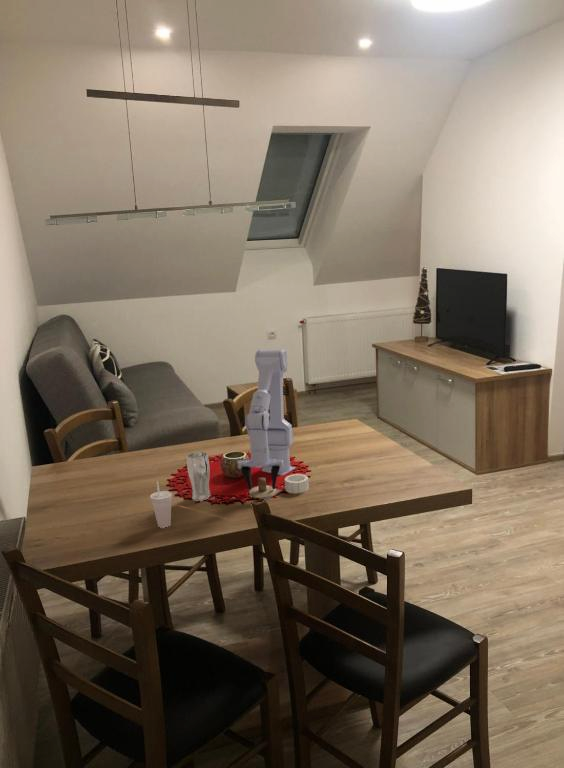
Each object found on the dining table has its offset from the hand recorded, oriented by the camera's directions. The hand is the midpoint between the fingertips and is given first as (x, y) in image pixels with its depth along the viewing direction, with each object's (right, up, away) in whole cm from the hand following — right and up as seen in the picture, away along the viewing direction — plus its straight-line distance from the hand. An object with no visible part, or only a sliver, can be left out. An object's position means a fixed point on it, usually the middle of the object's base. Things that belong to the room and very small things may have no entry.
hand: (262, 488), depth 206 cm
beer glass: (-20, -4, 0) cm, 20 cm away
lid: (0, -2, 0) cm, 2 cm away
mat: (0, -2, 0) cm, 2 cm away
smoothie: (-28, -8, -18) cm, 35 cm away
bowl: (+11, -1, +2) cm, 11 cm away
